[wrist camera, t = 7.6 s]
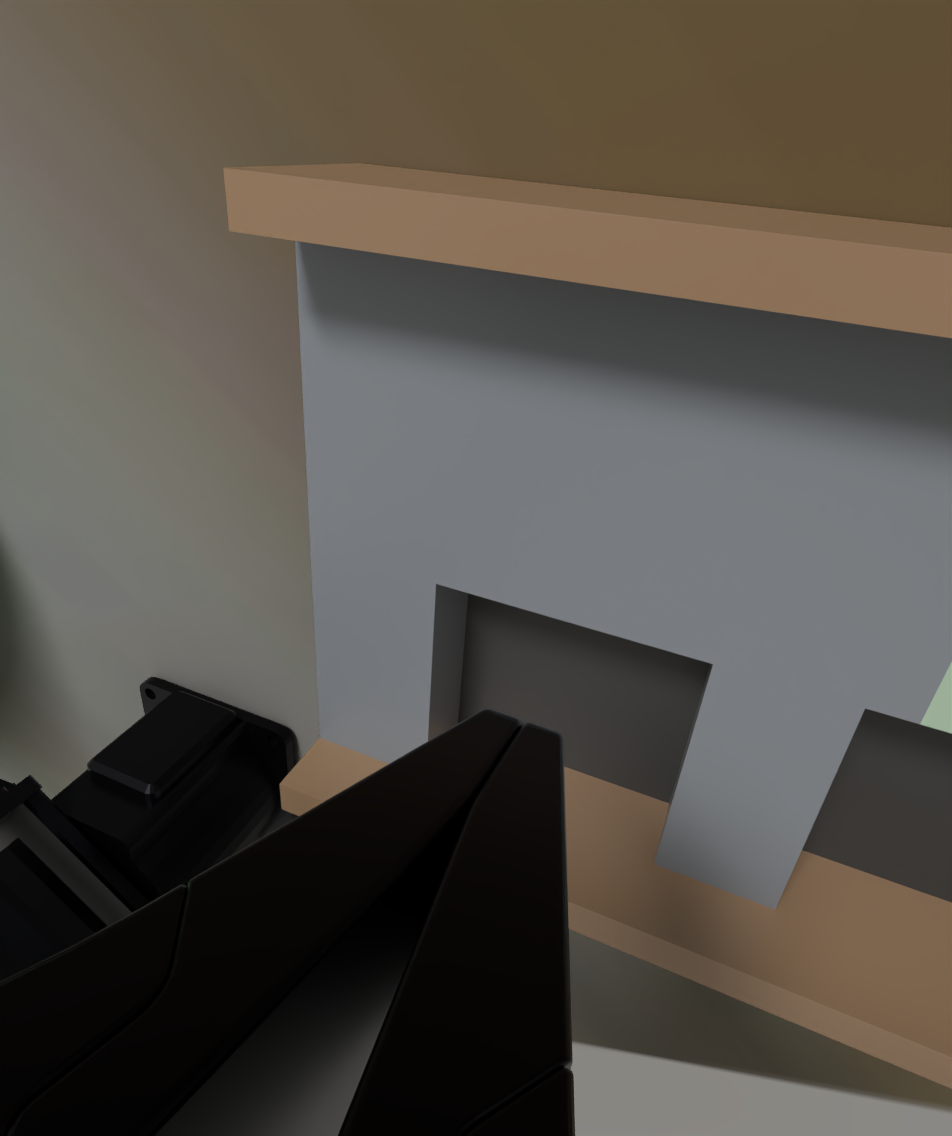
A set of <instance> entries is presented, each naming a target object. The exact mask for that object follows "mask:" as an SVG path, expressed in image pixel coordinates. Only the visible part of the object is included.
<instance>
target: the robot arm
mask: <svg viewBox="0 0 952 1136" xmlns="http://www.w3.org/2000/svg"><path fill="white" fill-rule="evenodd" d="M140 693H141V698H142V703H143V707H144V712H145V715H144V716H143V717H142V718H141V719H139V720H138V721H137V722H136V723H135V724H133V725H132V726H131V727H130V728H129V729H127V730H126V731H125V732H124V733H122V734H121V735H120V736H119V737H118V738H116V739H115V740H114V741H113V742H112V743H110V744H109V745H108V746H107V747H105V748H104V749H103V750H102V751H101V752H99V753H98V754H97V755H96V756H95V757H93V758H92V759H91V760H90V761H89V762H88V764H87V767H88V769H87V770H86V771H85V772H84V773H83V774H81V775H80V776H79V777H78V778H77V779H75V780H74V781H73V782H72V783H71V784H69V785H68V786H67V787H66V788H65V789H63V790H62V791H61V792H60V793H59V794H57V795H56V796H55V797H54V798H53V799H51V800H50V799H49V798H48V797H47V796H46V795H45V794H44V793H43V792H42V791H41V790H40V789H41V788H42V786H41V785H40V784H39V783H38V782H37V781H36V780H35V779H34V778H33V777H32V776H31V775H29V776H28V777H26V778H25V779H24V780H22V781H21V782H20V783H18V784H17V785H16V784H15V783H13V784H12V783H9V782H7V781H4V780H2V779H0V1136H575V1121H574V1085H573V1084H574V1082H573V1073H572V1071H571V1070H570V1069H571V1065H572V1028H571V992H570V957H569V921H568V885H567V850H566V814H565V778H564V743H563V736H562V734H561V733H560V732H558V731H555V730H552V729H549V728H547V727H544V726H541V725H538V724H535V723H532V722H528V723H525V724H523V723H522V721H521V720H520V719H519V718H517V717H514V716H511V715H508V714H505V713H503V712H500V711H497V710H494V709H488V708H487V709H483V710H481V711H479V712H477V713H476V714H474V715H472V716H470V717H469V718H467V719H465V720H463V721H462V722H460V723H458V724H457V725H455V726H453V727H451V728H450V729H448V730H446V731H445V732H443V733H441V734H439V735H438V736H436V737H434V738H433V739H431V740H429V741H427V742H426V743H424V744H422V745H421V746H419V747H417V748H415V749H414V750H412V751H410V752H408V753H407V754H405V755H403V756H402V757H400V758H398V759H396V760H395V761H393V762H391V763H390V764H388V765H386V766H384V767H383V768H381V769H379V770H378V771H376V772H374V773H372V774H371V775H369V776H367V777H366V778H364V779H362V780H360V781H359V782H357V783H355V784H353V785H352V786H350V787H348V788H347V789H345V790H343V791H341V792H340V793H338V794H336V795H335V796H333V797H331V798H329V799H328V800H326V801H324V802H323V803H321V804H319V805H317V806H316V807H314V808H312V809H311V810H309V811H307V812H305V813H304V814H302V815H300V816H297V815H295V814H292V813H290V812H288V811H285V810H283V809H282V807H281V796H280V785H279V784H280V783H281V782H282V780H283V779H284V778H285V777H286V776H287V775H288V774H289V772H290V771H291V770H292V769H293V768H294V767H295V766H294V753H293V740H292V736H291V734H290V732H289V731H288V730H287V729H286V728H285V727H284V726H282V725H280V724H278V723H275V722H273V721H270V720H267V719H265V718H262V717H259V716H257V715H254V714H252V713H249V712H246V711H244V710H241V709H238V708H236V707H233V706H230V705H228V704H225V703H222V702H220V701H217V700H214V699H212V698H209V697H207V696H204V695H201V694H199V693H196V692H193V691H191V690H188V689H185V688H183V687H180V686H177V685H175V684H172V683H169V682H167V681H164V680H162V679H159V678H156V677H150V678H148V679H147V680H146V681H144V682H143V683H142V684H141V685H140Z"/></svg>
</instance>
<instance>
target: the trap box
mask: <svg viewBox="0 0 952 1136" xmlns="http://www.w3.org/2000/svg"><path fill="white" fill-rule="evenodd" d="M224 179H225V190H226V201H227V212H228V223H229V231H232V232H239V233H246V234H253V235H259V236H266V237H273V238H280V239H286V240H293V241H295V246H296V266H297V287H298V307H299V327H300V348H301V368H302V388H303V409H304V429H305V449H306V469H307V490H308V510H309V530H310V551H311V571H312V591H313V612H314V632H315V652H316V672H317V693H318V713H319V733H320V738H319V739H318V740H317V742H316V743H315V744H314V745H313V746H312V747H311V748H310V750H309V751H308V752H307V753H306V754H305V755H304V756H303V758H302V759H301V760H300V761H299V762H298V763H297V764H296V766H295V767H294V768H293V769H292V770H291V771H290V772H289V774H288V775H287V776H286V777H285V778H284V779H283V780H282V782H281V783H280V784H279V785H280V796H281V807H282V809H283V810H285V811H288V812H290V813H292V814H295V815H297V816H300V815H302V814H304V813H305V812H307V811H309V810H311V809H312V808H314V807H316V806H317V805H319V804H321V803H323V802H324V801H326V800H328V799H329V798H331V797H333V796H335V795H336V794H338V793H340V792H341V791H343V790H345V789H347V788H348V787H350V786H352V785H353V784H355V783H357V782H359V781H360V780H362V779H364V778H366V777H367V776H369V775H371V774H372V773H374V772H376V771H378V770H379V769H381V768H383V767H384V766H386V765H388V764H390V763H391V762H393V761H395V760H396V759H398V758H400V757H402V756H403V755H405V754H407V753H408V752H410V751H412V750H414V749H415V748H417V747H419V746H421V745H422V744H424V743H426V742H427V741H429V740H431V739H433V738H434V737H436V736H438V735H439V734H441V733H443V732H445V731H446V730H448V729H450V728H451V727H453V726H455V725H457V724H458V723H460V722H462V721H463V720H465V719H467V718H469V717H470V716H472V715H474V714H476V713H477V712H479V711H481V710H483V709H487V708H488V709H494V710H497V711H500V712H503V713H505V714H508V715H511V716H514V717H517V718H519V719H520V720H521V721H522V723H523V724H525V723H528V722H532V723H535V724H538V725H541V726H544V727H547V728H549V729H552V730H555V731H558V732H560V733H561V734H562V736H563V743H564V778H565V814H566V850H567V885H568V921H569V929H570V930H572V931H575V932H577V933H580V934H582V935H584V936H587V937H589V938H592V939H594V940H596V941H599V942H601V943H604V944H606V945H608V946H611V947H613V948H616V949H618V950H620V951H623V952H625V953H628V954H630V955H632V956H635V957H637V958H640V959H642V960H644V961H647V962H649V963H652V964H654V965H656V966H659V967H661V968H663V969H666V970H668V971H671V972H673V973H675V974H678V975H680V976H683V977H685V978H687V979H690V980H692V981H695V982H697V983H699V984H702V985H704V986H707V987H709V988H711V989H714V990H716V991H719V992H721V993H723V994H726V995H728V996H731V997H733V998H735V999H738V1000H740V1001H742V1002H745V1003H747V1004H750V1005H752V1006H754V1007H757V1008H759V1009H762V1010H764V1011H766V1012H769V1013H771V1014H774V1015H776V1016H778V1017H781V1018H783V1019H786V1020H788V1021H790V1022H793V1023H795V1024H798V1025H800V1026H802V1027H805V1028H807V1029H810V1030H812V1031H814V1032H817V1033H819V1034H821V1035H824V1036H826V1037H829V1038H831V1039H833V1040H836V1041H838V1042H841V1043H843V1044H845V1045H848V1046H850V1047H853V1048H855V1049H857V1050H860V1051H862V1052H865V1053H867V1054H869V1055H872V1056H874V1057H877V1058H879V1059H881V1060H884V1061H886V1062H889V1063H891V1064H893V1065H896V1066H898V1067H900V1068H903V1069H905V1070H908V1071H910V1072H912V1073H915V1074H917V1075H920V1076H922V1077H924V1078H927V1079H929V1080H932V1081H934V1082H936V1083H939V1084H941V1085H944V1086H946V1087H948V1088H951V1089H952V228H949V227H939V226H930V225H921V224H912V223H903V222H894V221H884V220H875V219H866V218H857V217H848V216H838V215H829V214H820V213H811V212H802V211H792V210H783V209H774V208H765V207H756V206H747V205H737V204H728V203H719V202H710V201H701V200H691V199H682V198H673V197H664V196H655V195H646V194H636V193H627V192H618V191H609V190H600V189H590V188H581V187H572V186H563V185H554V184H544V183H535V182H526V181H517V180H508V179H499V178H489V177H480V176H471V175H462V174H453V173H443V172H434V171H425V170H416V169H407V168H398V167H388V166H379V165H370V164H361V163H349V164H320V165H291V166H262V167H233V168H224Z"/></svg>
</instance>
